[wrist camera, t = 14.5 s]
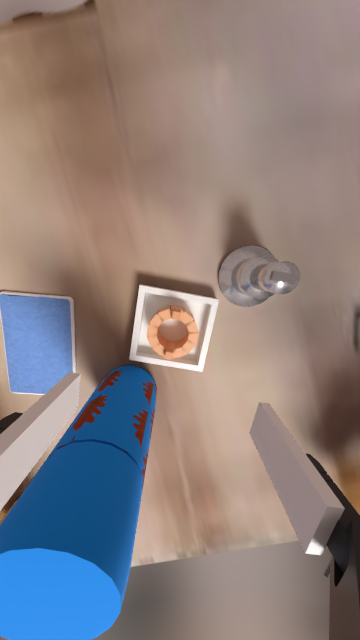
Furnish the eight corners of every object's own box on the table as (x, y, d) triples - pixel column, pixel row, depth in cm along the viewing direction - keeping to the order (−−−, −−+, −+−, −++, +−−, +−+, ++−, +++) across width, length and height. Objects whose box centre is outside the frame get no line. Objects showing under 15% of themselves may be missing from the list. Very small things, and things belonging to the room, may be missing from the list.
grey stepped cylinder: (283, 252, 32) (347, 239, 20) (266, 310, 34) (315, 329, 22) (226, 240, 32) (256, 219, 20) (212, 300, 34) (232, 314, 22)
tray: (216, 298, 34) (219, 299, 31) (200, 365, 37) (202, 371, 34) (142, 284, 33) (139, 284, 31) (132, 354, 36) (129, 359, 33)
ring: (190, 352, 35) (193, 364, 30) (147, 344, 35) (142, 356, 30) (199, 309, 34) (203, 315, 29) (154, 301, 33) (150, 306, 28)
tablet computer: (1, 290, 33) (-6, 290, 32) (75, 296, 34) (71, 297, 32) (13, 389, 38) (8, 393, 36) (79, 393, 38) (75, 398, 37)
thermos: (97, 407, 38) (-41, 638, 14) (107, 358, 36) (-38, 533, 12) (150, 418, 39) (109, 655, 15) (163, 372, 37) (139, 561, 12)
